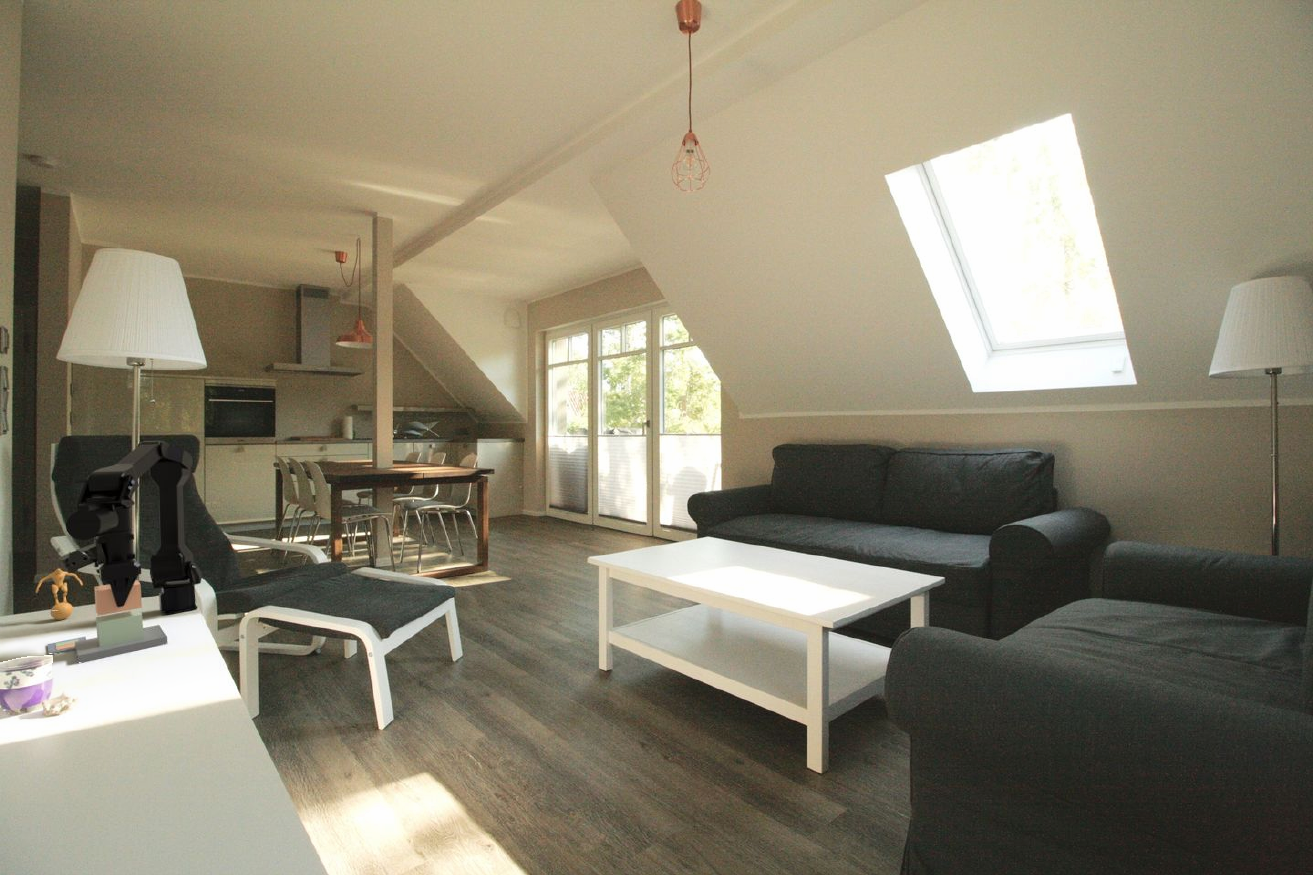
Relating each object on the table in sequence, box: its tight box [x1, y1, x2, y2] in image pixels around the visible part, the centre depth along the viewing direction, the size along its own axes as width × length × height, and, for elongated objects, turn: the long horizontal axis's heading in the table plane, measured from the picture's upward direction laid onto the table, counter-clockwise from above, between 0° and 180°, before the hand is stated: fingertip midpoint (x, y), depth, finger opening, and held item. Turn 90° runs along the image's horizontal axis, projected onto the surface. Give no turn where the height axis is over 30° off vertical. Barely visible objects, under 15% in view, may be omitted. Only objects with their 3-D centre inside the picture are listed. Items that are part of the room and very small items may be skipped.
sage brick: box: [95, 609, 144, 647], centre depth 134 cm, size 7×5×5 cm
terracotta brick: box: [93, 579, 143, 617], centre depth 134 cm, size 7×5×5 cm
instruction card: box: [47, 636, 87, 654], centre depth 135 cm, size 6×8×1 cm
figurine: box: [35, 568, 84, 621], centre depth 154 cm, size 8×6×12 cm
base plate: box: [74, 624, 168, 664], centre depth 134 cm, size 14×11×2 cm
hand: (119, 604), depth 134 cm, fingers closed on terracotta brick, 5 cm apart
